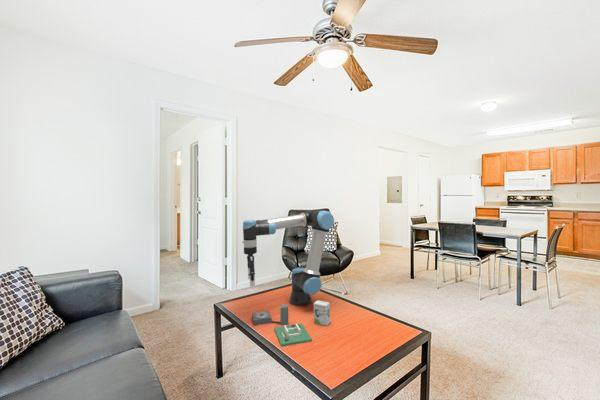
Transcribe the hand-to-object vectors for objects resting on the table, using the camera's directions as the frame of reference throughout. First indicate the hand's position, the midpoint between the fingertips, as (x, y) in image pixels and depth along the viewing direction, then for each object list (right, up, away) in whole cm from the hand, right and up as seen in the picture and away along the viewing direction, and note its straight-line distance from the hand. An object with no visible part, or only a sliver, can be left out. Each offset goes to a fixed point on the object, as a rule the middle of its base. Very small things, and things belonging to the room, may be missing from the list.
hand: (251, 282), depth 164 cm
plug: (+20, -23, -2) cm, 30 cm away
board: (+25, -23, -16) cm, 37 cm away
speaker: (+6, -23, +1) cm, 24 cm away
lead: (+14, -23, -2) cm, 27 cm away
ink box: (+41, -23, -3) cm, 47 cm away
